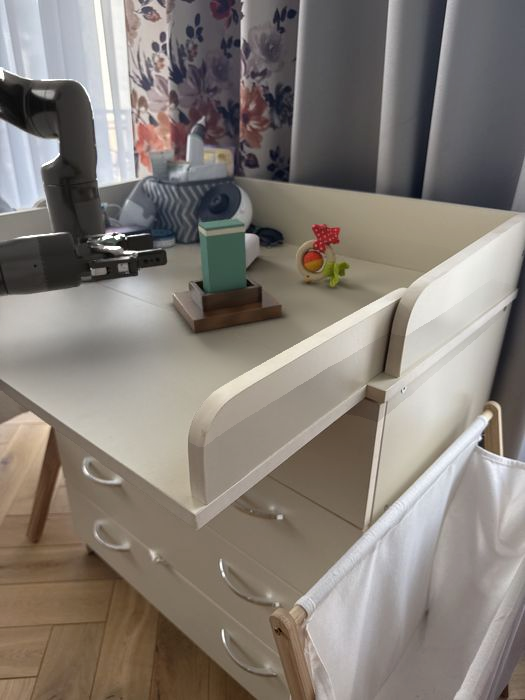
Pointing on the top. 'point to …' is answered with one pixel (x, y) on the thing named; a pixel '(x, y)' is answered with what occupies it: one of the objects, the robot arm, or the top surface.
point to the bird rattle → (314, 260)
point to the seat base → (225, 306)
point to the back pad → (223, 255)
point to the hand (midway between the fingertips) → (158, 248)
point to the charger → (251, 248)
